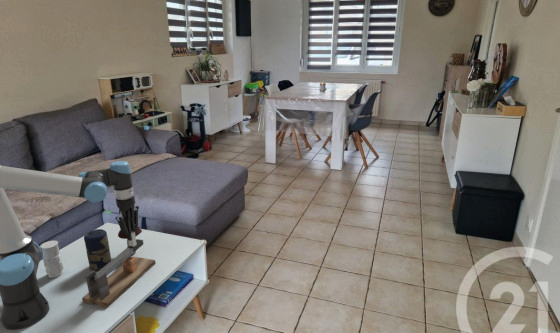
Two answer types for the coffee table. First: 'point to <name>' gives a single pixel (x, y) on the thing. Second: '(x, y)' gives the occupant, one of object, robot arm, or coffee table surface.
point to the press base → (115, 281)
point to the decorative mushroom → (126, 235)
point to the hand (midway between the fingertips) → (132, 245)
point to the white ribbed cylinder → (52, 259)
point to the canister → (97, 248)
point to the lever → (118, 259)
